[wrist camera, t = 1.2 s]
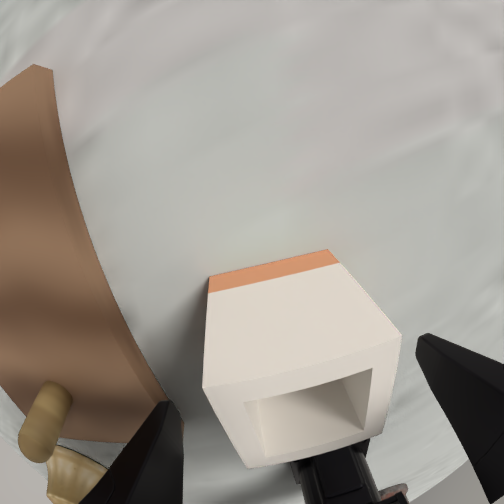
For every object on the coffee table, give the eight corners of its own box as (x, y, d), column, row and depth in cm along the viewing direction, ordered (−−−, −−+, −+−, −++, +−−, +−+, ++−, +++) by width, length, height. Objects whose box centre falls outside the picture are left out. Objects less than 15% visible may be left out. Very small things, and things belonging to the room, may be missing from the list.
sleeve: (334, 339, 14) (381, 433, 8) (237, 363, 14) (247, 469, 8) (327, 249, 12) (402, 335, 6) (209, 276, 12) (202, 387, 6)
